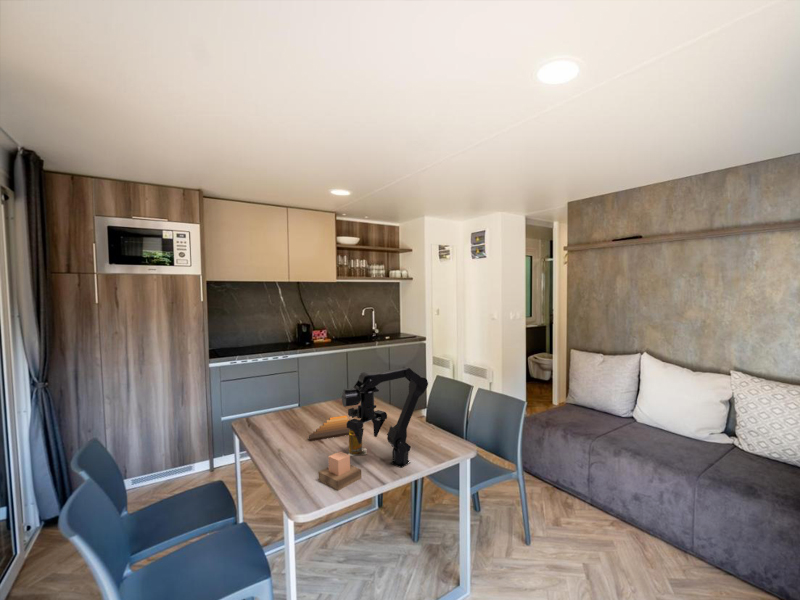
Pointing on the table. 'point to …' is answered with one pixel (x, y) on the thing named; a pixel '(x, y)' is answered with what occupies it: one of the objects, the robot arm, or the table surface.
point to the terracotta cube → (339, 463)
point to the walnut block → (339, 477)
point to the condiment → (355, 445)
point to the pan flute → (331, 429)
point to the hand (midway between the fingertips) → (367, 440)
